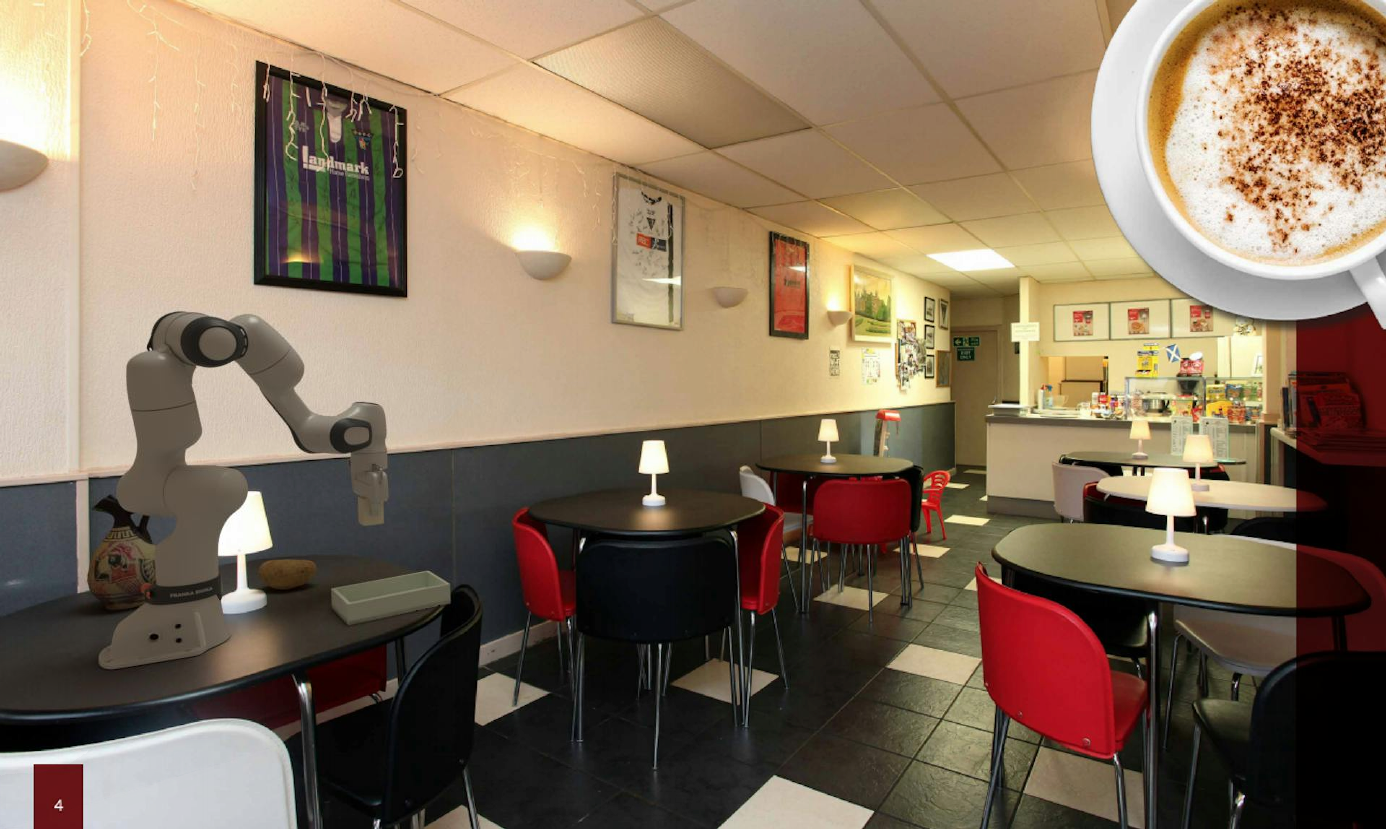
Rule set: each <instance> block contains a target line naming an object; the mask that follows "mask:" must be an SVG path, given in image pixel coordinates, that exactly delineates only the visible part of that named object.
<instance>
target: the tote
mask: <svg viewBox="0 0 1386 829" xmlns="http://www.w3.org/2000/svg"><path fill="white" fill-rule="evenodd" d="M330 594H331V595H330V596H331V609H332V610H333V611H334V612H335V613H336V614H337V615H338V616H339V618H341V619H342V621H344V623H345V624H346V625H347V626H349V627H350V626H354V625H358V624H362V623H368V622H371V621H377V620H382V619H385V618H389V617H393V616H395V617H396V616H399V615H402V614H408V613H412V612H416V610H418V611H422V610H425V609H426V608H427V609H430V608H435V607H439V606H438V605H440V606H444V605H450V604H451V601H452V600H451V584H450V583H449V582H447V581H446V580H445V579H443V578H441V577H439V576H438V575H436V574H435V573H433V572H431V571H429V570H424V571H419V572H418V571H417V572H415V573H413V572H412V573H409V574H403V575H398V576H393V577H387V578H382V579H375V580H369V581H365V582H360V583H355V584H348V585H343V586H337V587H332V588H331V591H330Z"/></svg>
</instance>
